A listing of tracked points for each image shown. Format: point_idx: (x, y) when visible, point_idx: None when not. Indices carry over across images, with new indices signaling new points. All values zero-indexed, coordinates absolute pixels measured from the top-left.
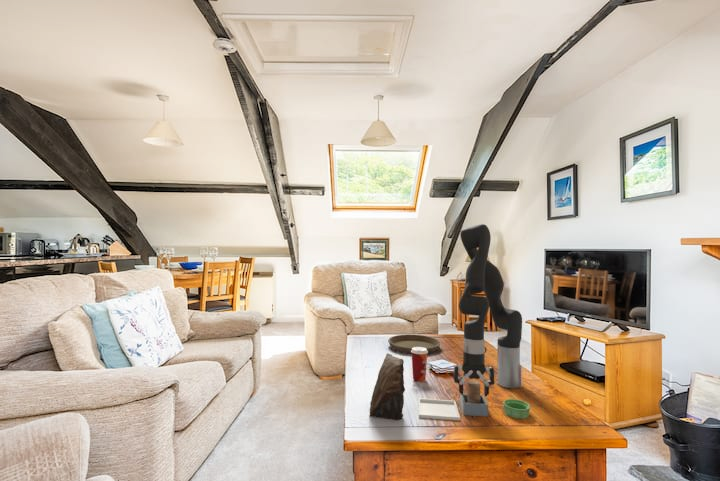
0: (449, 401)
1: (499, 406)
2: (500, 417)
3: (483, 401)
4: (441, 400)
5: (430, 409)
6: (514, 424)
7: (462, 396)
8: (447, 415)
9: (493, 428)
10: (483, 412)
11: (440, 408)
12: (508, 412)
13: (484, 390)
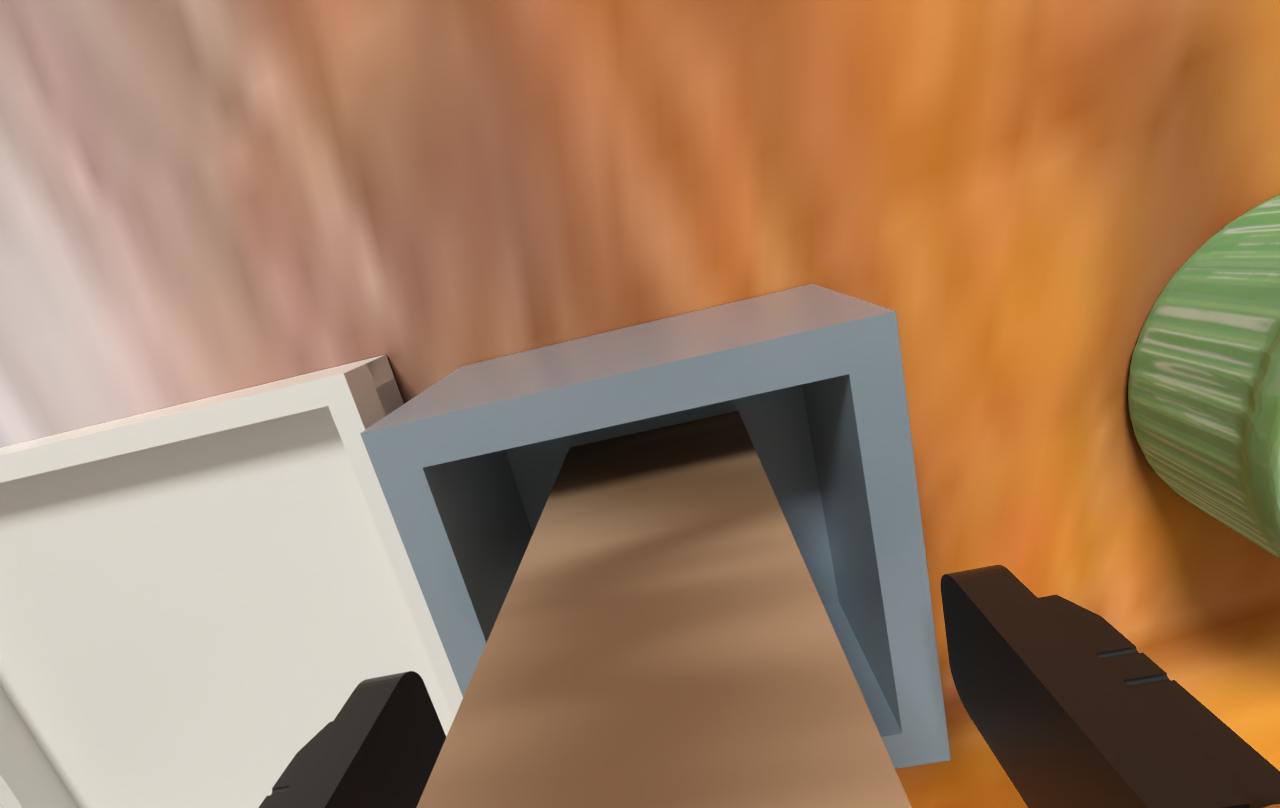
0: (267, 416)
1: (1101, 69)
2: (1036, 493)
3: (864, 546)
4: (140, 448)
5: (131, 682)
6: (1183, 622)
7: (442, 560)
8: None
9: (905, 782)
10: None
11: (232, 614)
12: (1224, 518)
13: (1012, 703)
